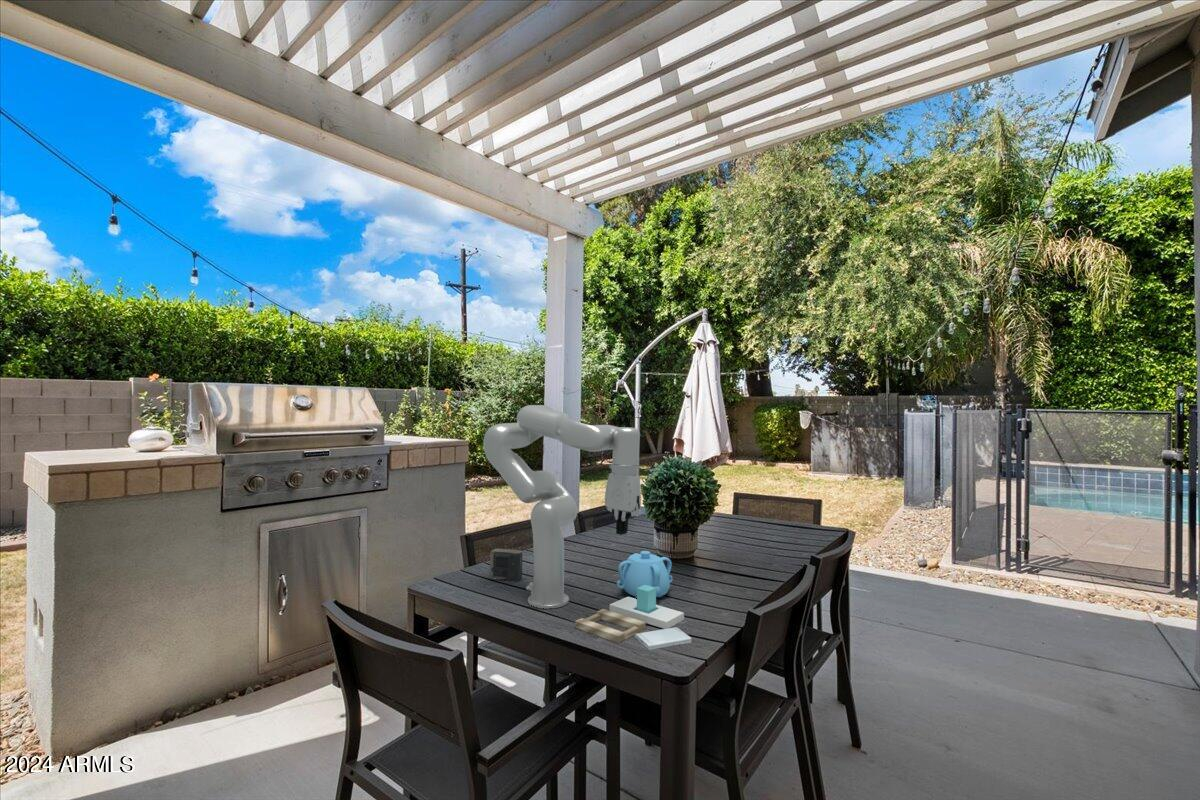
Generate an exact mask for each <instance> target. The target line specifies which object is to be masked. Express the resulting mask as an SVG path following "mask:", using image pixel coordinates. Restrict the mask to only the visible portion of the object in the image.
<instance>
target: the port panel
mask: <svg viewBox="0 0 1200 800" xmlns="http://www.w3.org/2000/svg"><path fill="white" fill-rule="evenodd" d="M608 611H612V612H615V613H618V614H621V615H624V616H627V617H630V618H634V619H637V620H640V621H643V622H646V624H649V625H651V626H653V627H654V626H655V627H658V628H660V629H668V628H673V627H674V626H675V625H677V624H679V623H681V622H683V621H684V620H685V613H684V612H683V611H681V610H680V611H678V610H676V609H672V608H668V607H666V606H662V605H658V604H656V610H655V611H653V612H651V613H649V614H648V613H645V612H641V611H638V610H637V599H636V597H631V596H626V597H624V598H622V599H619V600H616V601H614V602H613V603H610V604H609V610H608Z"/></svg>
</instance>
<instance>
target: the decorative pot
mask: <svg viewBox="0 0 1200 800" xmlns="http://www.w3.org/2000/svg"><path fill="white" fill-rule="evenodd" d="M626 559H627V560H623V561H621V562H620V563H619V564H618V567H617V571H618V575H619V578H620V579H618V580H617V582H616V587H617V588H618V589H620V590H622V589H624V590H625V592H626V593H627V594H629V595H631V596H632V597H634V598H635V599H636V598H637V588H638V587H641V586H643V585H647V586H651V587H655V588H656V598H662V597H664V596H665V595H666V594H667V593H668V591H669V589H670V587H671V584H670V583H672V582H673V579H674V578H673V576H672V574H670V573H671V571H672V566H673V565H672V564H673V563H672V560H671V559H670V558H668V557H666V556H661V557H660V556H658V555H656V554H653V553H651V552H650V551H648V550H643V551H640V553H638V552H636V553H633V554H631V555H630V556H628V558H626ZM665 561H667V565H665V563H664V562H665ZM622 569H623V570H622ZM620 583H621V584H620ZM661 596H662V597H661Z"/></svg>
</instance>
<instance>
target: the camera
mask: <svg viewBox="0 0 1200 800" xmlns="http://www.w3.org/2000/svg"><path fill="white" fill-rule="evenodd" d="M489 553H490V554H489V555H490V556H489V558H490V559H489V573H488V574H489V578H490V579H491V578H496V579H495V580H500V579H508V580H507V581H512V580H517V581H516V582H520V581H521V580H523V552H522V550H519V549H518V550H516V549H509V548H507V549H506V548H494V549H492V550H491V551H490V552H489ZM520 579H521V580H520Z"/></svg>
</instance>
